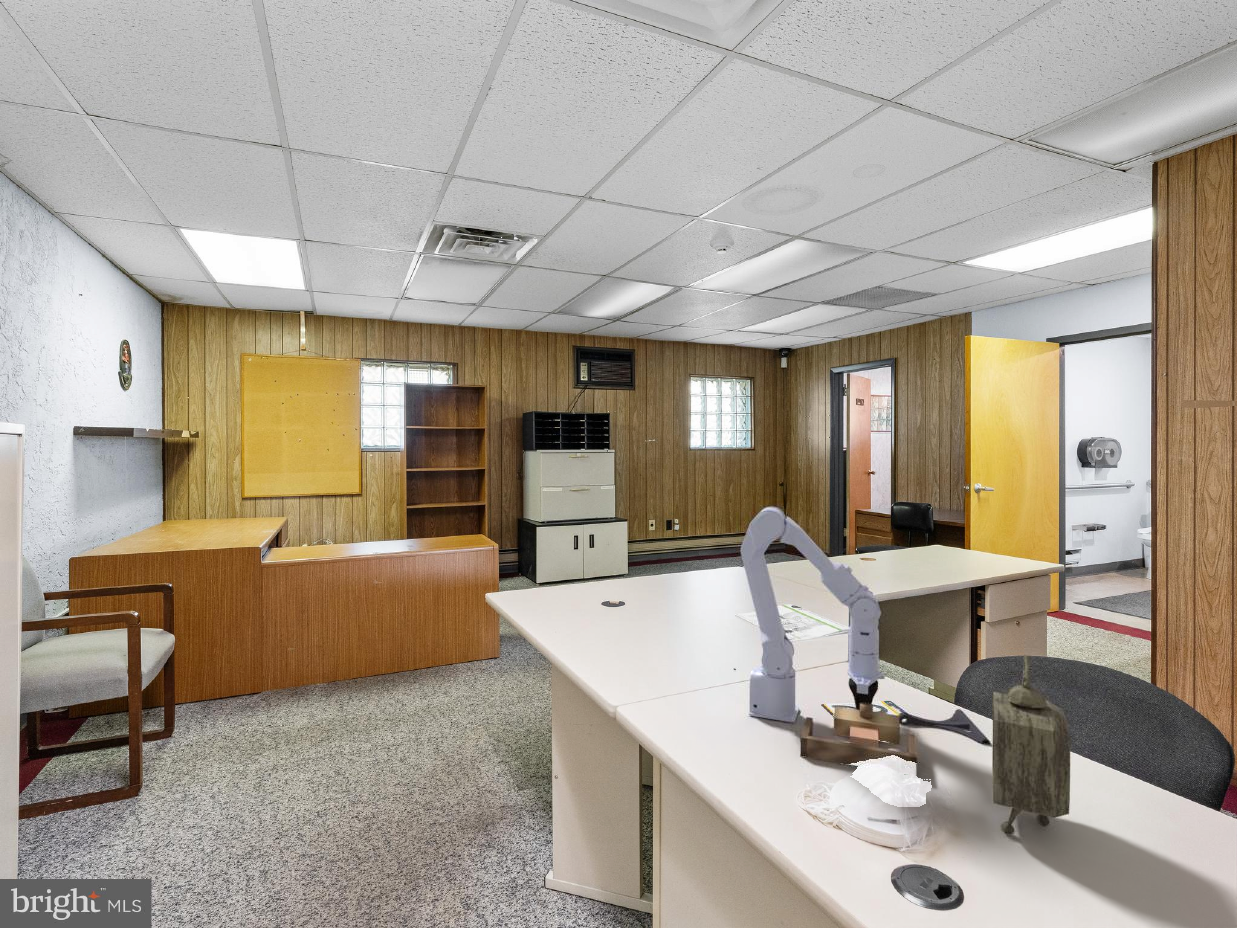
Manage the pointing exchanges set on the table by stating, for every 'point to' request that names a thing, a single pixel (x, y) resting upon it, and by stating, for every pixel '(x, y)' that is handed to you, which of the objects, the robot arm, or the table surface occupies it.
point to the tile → (864, 736)
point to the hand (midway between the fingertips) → (863, 716)
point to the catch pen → (847, 748)
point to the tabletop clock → (1030, 754)
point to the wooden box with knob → (867, 722)
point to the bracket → (948, 725)
